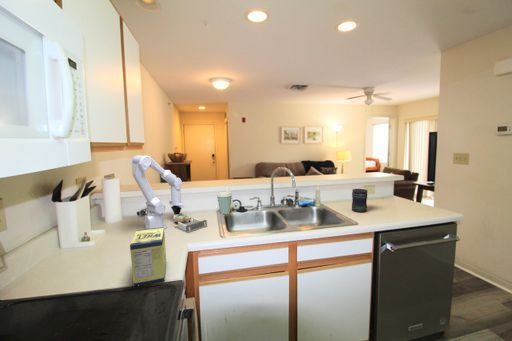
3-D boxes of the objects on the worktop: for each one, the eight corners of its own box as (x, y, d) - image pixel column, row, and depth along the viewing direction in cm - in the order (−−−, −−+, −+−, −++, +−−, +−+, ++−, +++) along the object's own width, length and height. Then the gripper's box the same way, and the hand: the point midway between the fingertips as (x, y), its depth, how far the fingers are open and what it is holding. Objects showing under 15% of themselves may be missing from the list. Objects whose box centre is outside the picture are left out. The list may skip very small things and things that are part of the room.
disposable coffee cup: (217, 215, 160) (216, 194, 158) (217, 211, 170) (216, 191, 168) (233, 214, 162) (232, 193, 160) (231, 210, 172) (231, 190, 170)
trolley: (181, 224, 140) (180, 216, 140) (174, 223, 146) (173, 215, 146) (191, 221, 145) (190, 213, 145) (184, 220, 151) (183, 212, 151)
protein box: (166, 261, 100) (164, 226, 98) (165, 281, 85) (162, 241, 83) (139, 265, 97) (136, 229, 95) (133, 288, 82) (129, 245, 80)
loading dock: (187, 234, 130) (187, 226, 130) (172, 227, 142) (171, 219, 141) (206, 227, 140) (206, 220, 139) (190, 221, 151) (190, 214, 151)
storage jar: (369, 212, 161) (370, 191, 159) (354, 213, 161) (355, 191, 159) (362, 208, 171) (363, 188, 169) (349, 208, 171) (350, 188, 169)
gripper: (187, 196, 146) (189, 217, 148) (175, 193, 156) (177, 213, 157) (177, 198, 141) (178, 220, 143) (165, 195, 151) (167, 215, 152)
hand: (177, 216), depth 150 cm, fingers closed
